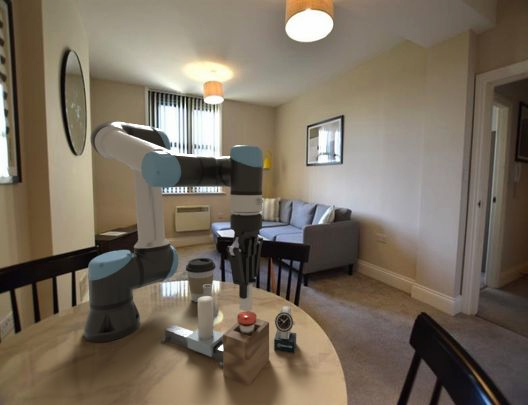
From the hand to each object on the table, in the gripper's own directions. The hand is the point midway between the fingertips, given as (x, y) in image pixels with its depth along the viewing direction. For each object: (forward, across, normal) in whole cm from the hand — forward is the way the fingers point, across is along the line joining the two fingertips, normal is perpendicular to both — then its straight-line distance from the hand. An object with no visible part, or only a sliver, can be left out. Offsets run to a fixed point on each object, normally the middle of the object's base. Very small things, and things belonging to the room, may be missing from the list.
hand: (245, 309), depth 64 cm
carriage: (+14, 0, +13) cm, 18 cm away
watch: (+15, +12, -6) cm, 20 cm away
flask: (+15, +16, +26) cm, 34 cm away
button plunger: (+8, 0, 0) cm, 8 cm away
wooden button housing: (+15, 0, 0) cm, 15 cm away
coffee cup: (+15, +24, +36) cm, 45 cm away
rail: (+15, 0, +16) cm, 22 cm away
